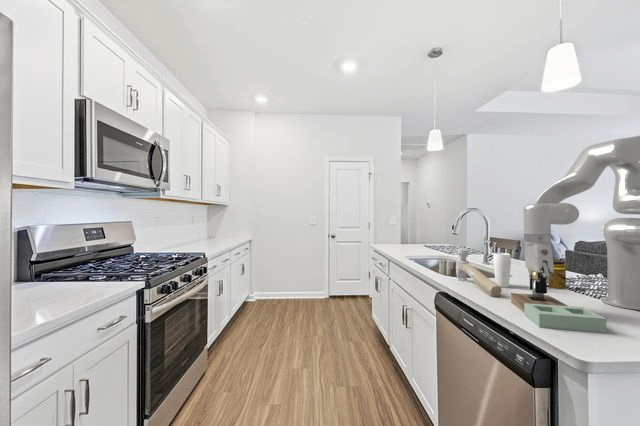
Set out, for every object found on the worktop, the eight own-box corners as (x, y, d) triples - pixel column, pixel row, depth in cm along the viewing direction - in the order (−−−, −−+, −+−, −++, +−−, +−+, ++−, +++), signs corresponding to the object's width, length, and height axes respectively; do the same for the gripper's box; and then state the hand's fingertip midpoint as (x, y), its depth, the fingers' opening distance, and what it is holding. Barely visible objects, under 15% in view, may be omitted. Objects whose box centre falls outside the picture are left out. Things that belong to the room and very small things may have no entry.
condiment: (570, 290, 121) (569, 262, 121) (546, 288, 124) (545, 261, 124) (562, 286, 128) (562, 260, 128) (539, 284, 131) (539, 259, 131)
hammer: (504, 274, 110) (466, 247, 139) (492, 274, 110) (456, 247, 139) (499, 309, 113) (462, 276, 143) (487, 309, 113) (453, 276, 143)
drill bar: (541, 304, 99) (540, 271, 99) (546, 307, 96) (545, 272, 96) (531, 304, 100) (530, 270, 100) (535, 307, 97) (534, 272, 97)
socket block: (548, 304, 102) (548, 295, 102) (568, 316, 90) (568, 305, 90) (511, 302, 105) (511, 293, 105) (525, 313, 93) (525, 302, 93)
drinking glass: (495, 287, 126) (494, 254, 126) (492, 284, 132) (491, 252, 132) (512, 289, 123) (512, 255, 123) (509, 285, 130) (508, 253, 130)
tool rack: (583, 319, 87) (583, 307, 87) (606, 333, 78) (606, 318, 78) (524, 315, 92) (524, 303, 92) (539, 327, 82) (539, 313, 82)
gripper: (563, 241, 89) (564, 299, 89) (538, 237, 105) (539, 286, 105) (535, 241, 91) (536, 297, 91) (515, 237, 107) (516, 285, 107)
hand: (538, 291), depth 98 cm, fingers closed on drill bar, 3 cm apart
